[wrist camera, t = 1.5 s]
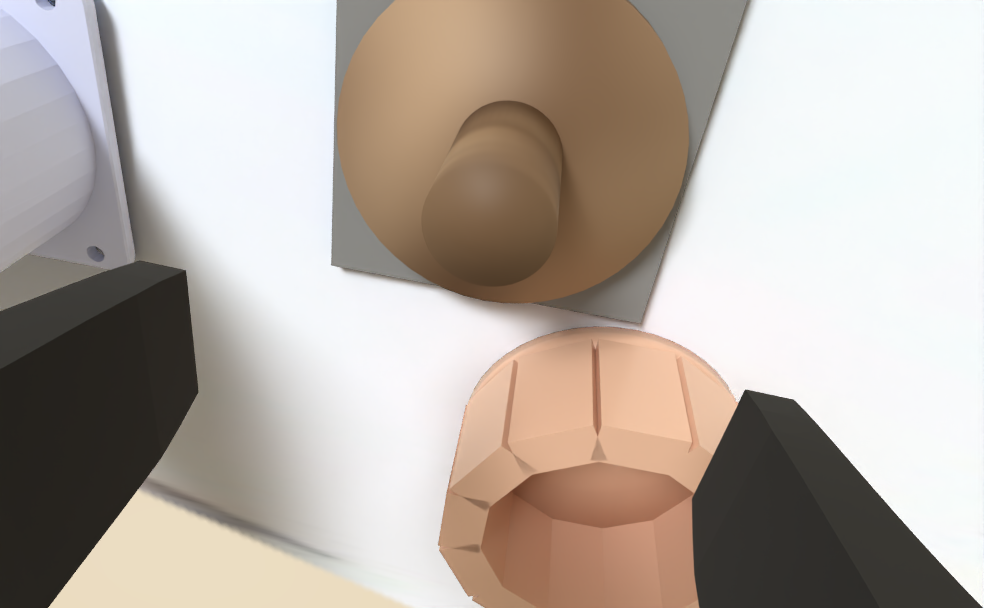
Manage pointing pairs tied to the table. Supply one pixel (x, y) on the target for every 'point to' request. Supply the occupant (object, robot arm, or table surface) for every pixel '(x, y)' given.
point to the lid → (513, 141)
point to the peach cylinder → (583, 472)
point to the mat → (700, 66)
